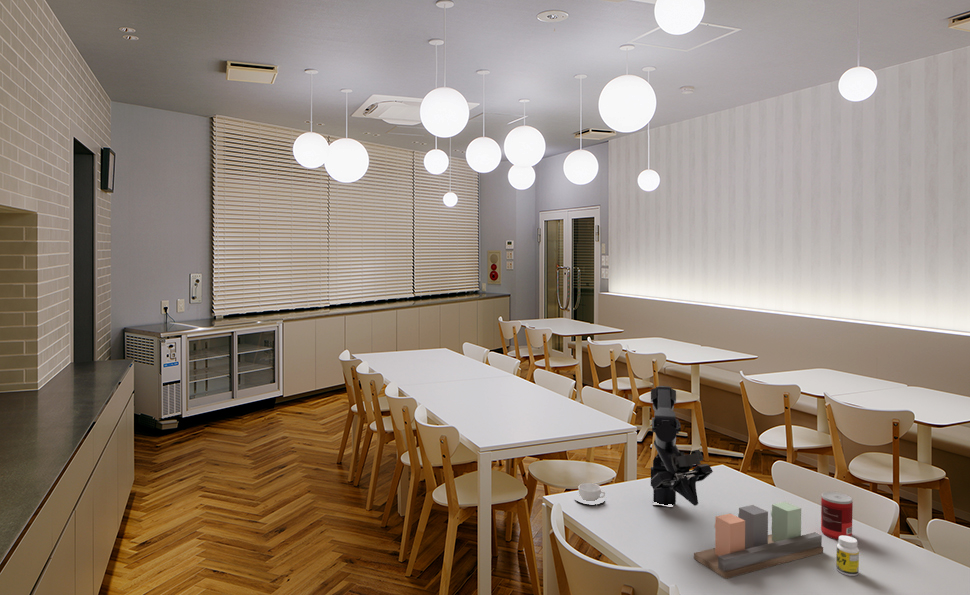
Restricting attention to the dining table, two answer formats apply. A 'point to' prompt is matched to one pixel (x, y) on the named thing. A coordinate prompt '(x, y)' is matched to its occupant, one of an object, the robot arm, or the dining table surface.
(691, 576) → the dining table surface
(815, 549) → the wooden display stand
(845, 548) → the supplement bottle
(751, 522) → the gray rectangular block
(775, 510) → the sage green block
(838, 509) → the canned food
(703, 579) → the dining table surface
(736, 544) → the pink upright block
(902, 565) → the dining table surface
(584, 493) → the teacup
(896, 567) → the dining table surface
